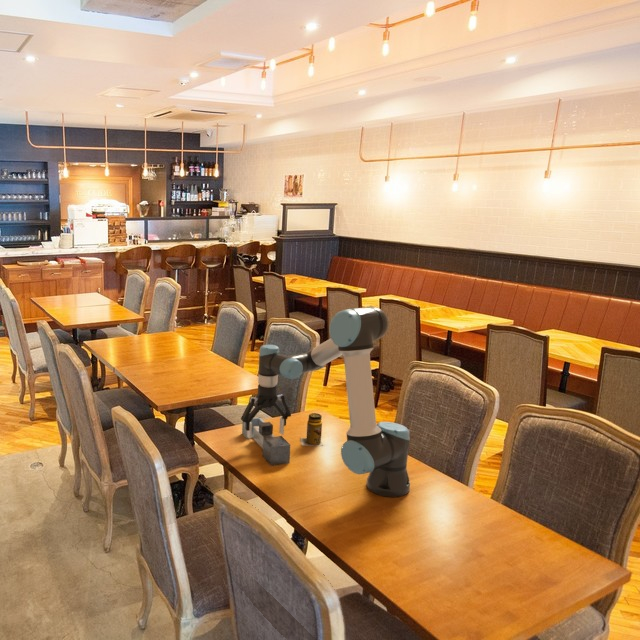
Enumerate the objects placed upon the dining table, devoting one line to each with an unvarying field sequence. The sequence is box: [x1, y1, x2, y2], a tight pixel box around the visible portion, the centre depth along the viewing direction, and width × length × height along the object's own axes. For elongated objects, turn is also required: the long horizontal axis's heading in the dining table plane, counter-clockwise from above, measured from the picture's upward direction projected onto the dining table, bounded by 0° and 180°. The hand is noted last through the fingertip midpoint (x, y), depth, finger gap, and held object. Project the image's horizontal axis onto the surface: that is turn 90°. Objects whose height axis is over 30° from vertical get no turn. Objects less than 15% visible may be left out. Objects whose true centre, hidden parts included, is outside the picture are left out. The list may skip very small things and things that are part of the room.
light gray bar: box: [252, 421, 276, 450], centre depth 232 cm, size 22×4×9 cm, turn 26°
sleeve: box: [262, 435, 291, 467], centre depth 225 cm, size 9×8×7 cm
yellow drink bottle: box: [300, 412, 324, 447], centre depth 243 cm, size 7×8×12 cm
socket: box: [241, 416, 266, 440], centre depth 247 cm, size 6×8×6 cm
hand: (265, 435), depth 235 cm, fingers open, 13 cm apart
